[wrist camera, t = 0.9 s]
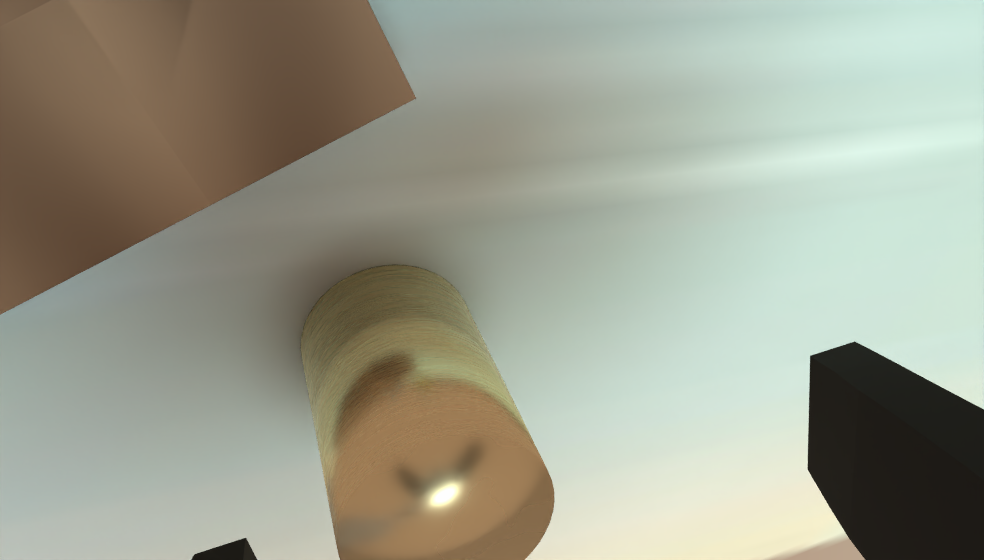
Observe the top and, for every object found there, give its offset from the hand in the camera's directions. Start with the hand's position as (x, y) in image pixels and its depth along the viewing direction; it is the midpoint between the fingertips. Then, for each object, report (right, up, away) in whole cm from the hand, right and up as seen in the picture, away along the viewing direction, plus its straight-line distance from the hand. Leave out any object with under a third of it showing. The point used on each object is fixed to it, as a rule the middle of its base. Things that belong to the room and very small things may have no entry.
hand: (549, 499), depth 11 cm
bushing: (-3, +1, +10) cm, 11 cm away
